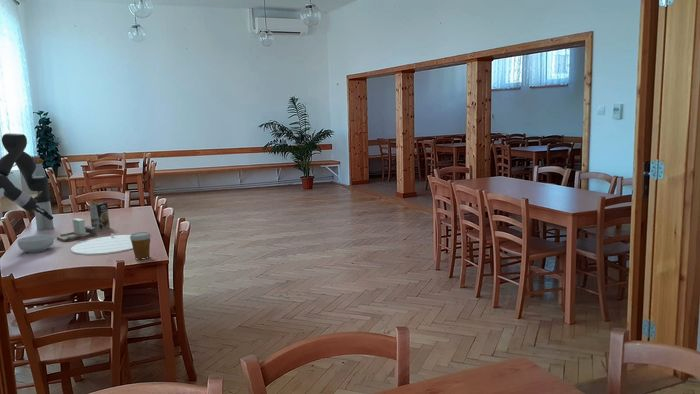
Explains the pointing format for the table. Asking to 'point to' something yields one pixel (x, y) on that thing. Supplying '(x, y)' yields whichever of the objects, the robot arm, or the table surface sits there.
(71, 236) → the track
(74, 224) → the pale green rectangular block
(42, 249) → the cereal bowl
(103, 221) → the coffee box
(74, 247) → the lazy susan
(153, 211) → the table surface
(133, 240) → the beer glass
